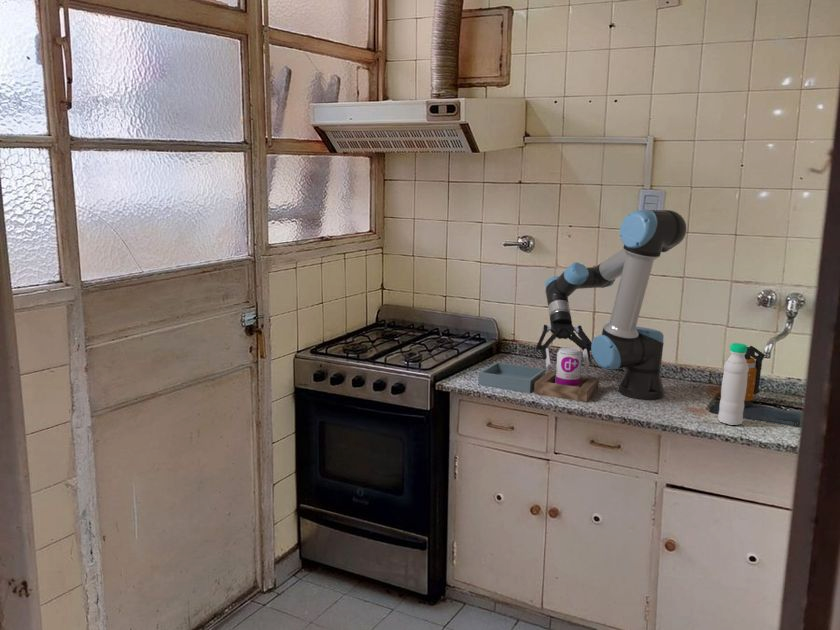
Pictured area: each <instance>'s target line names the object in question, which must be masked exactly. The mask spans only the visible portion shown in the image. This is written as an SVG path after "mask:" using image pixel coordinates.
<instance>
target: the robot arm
mask: <svg viewBox="0 0 840 630" xmlns="http://www.w3.org/2000/svg"><path fill="white" fill-rule="evenodd" d="M686 233H687V223H686V221H685V219H684V217H683V216H682V215H681V214H680V213H678V212H676V211H674V210H671V209H670V210H669V209H668V210H667V209H664V210H663V209H660V210H658V209H640V210H634V211H632V212H630V213H628V214H627V215H626V216H625V217H624V218H623V220H622V222H621V225H620V227H619V237H620V240H621V242H622V244H623V247H622V249H621V250H619V251H618V252H616V253H614V254H613V255H612V256H610V257H608V258H607V259H604V261H603V262H600V263H599V264H598V265H596V266H593V267H586V266H585V265H584V264H583V263H580V262H573V263H572V264H570V265H569V266H567V267H566V268H565V270H564V271H563V272H562V273H561V274H560V275H557V276H551V278H548V279H547V280H546V281H545V283H544V284H545V290H544V291H545V295H546V296H545V297H546V300H547V301H546V302H547V309H548V314H549V321H550V326H549V325H547V324H543V327H542V331H541V332H542V333H541V336H540V337H539V340H538V342H537V344H536V347H535V350H536V351H540V352H541V356H542V359H543V360H545V366H546V369H550V367H551V359H550V352H549V346H550V345H551V344H552V343H553V341H555V340H556V339H559V340H561V339H563V340H568V339H569V340H570V341H572V342H573V343H574V344H575V345H577V346H578V347H579V348H580V349H581V350H582V357H583V358H582V359H583V364H584V368H585V370H587V369H588V368H589V367H590V361H589V360H591V359H590V358H591V355H592V357H593V360H594V361H595V363H596V364H597V365H598V366H599V367H600V368H602V369H604V370H618V369H624V368H625V370H624V372H623V375H622V376H621V379H620V381H619V383H618V393H619V394H621V395H623V396H625V397H630V398H633V399H637V400H639V399H640V400H659V399H662V398H663V397H664V392H665V390H664V389H665V388H664V384H663V380H662V375H661V368H662V359H663V349H664V344H665V343H664V333H663V332H662V331H660V330H657V329H653V328H649V327H644V326H637V324H638V321H639V317H640V313H641V309H642V306H643V302H644V299H645V295H646V290H647V288H648V287H647V286H648V283H649V279H650V276H651V272H652V268H653V264H654V261H655V260H657V259H658V258H660V257H661V254H662V253H666V252H668V251H670V250H671V249H673V248H675V247H676V246H678V245H679V244H680V243H682V241H683V240H684V238H685V236H686ZM619 277H620V279H619V282H618V283H619V284H618V287H617V292H616V296H615V300H614V304H613V307H612V310H611V314H610V319H609V321H608V322H607V323H605V324H604V325H603V327H602V331H601V334H598V335H597V336H596V337H594V338H593V340H591V339H590V338H589V337H588V335H587V334H586V333H585V331H584V329H583V327H582V325H581V324H579V325H578V326H573V321H572V314H571V308H570V303H569V297H570V296H571V295H572V294H574V292H575V291H576V290H578V289H579V290H580V289H581V290H582V289H595V288H596V289H597V288H600V289H601V288H602V289H603V288H608V287H611V286H613V285H614V283H615V282H616V279H618V278H619ZM549 331H550V333H552V334H551V336H550V337H549V338H548V339H547V340H546V341H545V343H543V342H544V339H545V337H546V335H547V333H549ZM661 397H662V398H661ZM658 398H659V399H658Z"/></svg>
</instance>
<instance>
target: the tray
mask: <svg viewBox="0 0 840 630" xmlns="http://www.w3.org/2000/svg"><path fill="white" fill-rule="evenodd" d="M546 370H547V368H541V367H534V366H528V365H527V366H526V365H521V364H513V363H507V362H499V361H496V362H494V363H491V364H490V365H488V366H487V367H485V368H484V369H482V370H480V371H479V372H478V376H477V377H478V380H477V381H478V382H477V385H478V384H481V385H480V386H482V385H484V386H483V387H489V388H495V389H500V390H501V389H502V390H506V391H507V390H508V391H512V392H513V391H515V392H518V393H519V392H520V393H528V394H530V393H532V392H534V386H535V382H536V381H537V380H539V379H540V378H541V377H543V376H544V375H545V374H546V373H547V372H546Z"/></svg>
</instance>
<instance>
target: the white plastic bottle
mask: <svg viewBox="0 0 840 630" xmlns="http://www.w3.org/2000/svg"><path fill="white" fill-rule="evenodd" d="M747 347H748V346H747V344H744V343H738V342H735V343H731V344H730V346H729V352H730V356H729V357H728V358H727V360H726V361H725V363H724V364H723V375H722V381H721V389H720V401H719V405H718V406H719V410H718V414H717V421H718V420H719V421H720V422H723V423H727V424H733V425H737V424H741V425H742V424H743V421H744V411H745V407H744V400H745V395H746V388H747V373H748V371H749V367H748V364H747V361H746V359H745V354H746V352H747ZM719 421H718V422H719ZM720 422H719V423H720Z"/></svg>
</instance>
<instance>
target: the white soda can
mask: <svg viewBox="0 0 840 630" xmlns="http://www.w3.org/2000/svg"><path fill="white" fill-rule="evenodd" d="M582 357H583V353H582V352H581V350H580V349H579V348H576V347H570V346H567V347H566V346H564V347H563V346H562V347H560V348H559V349H558V351H557V353H556V364H555V365H556V367H555V368H556V369H555V372H556V379H555V383H556V384H563V385H569V386H576V387H579V385H580V376H581V371H582V370H581V368H582V360H583V358H582Z"/></svg>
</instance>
